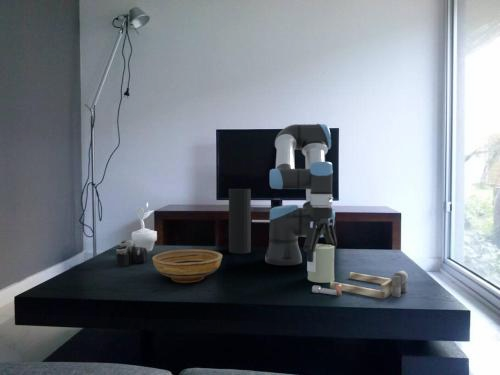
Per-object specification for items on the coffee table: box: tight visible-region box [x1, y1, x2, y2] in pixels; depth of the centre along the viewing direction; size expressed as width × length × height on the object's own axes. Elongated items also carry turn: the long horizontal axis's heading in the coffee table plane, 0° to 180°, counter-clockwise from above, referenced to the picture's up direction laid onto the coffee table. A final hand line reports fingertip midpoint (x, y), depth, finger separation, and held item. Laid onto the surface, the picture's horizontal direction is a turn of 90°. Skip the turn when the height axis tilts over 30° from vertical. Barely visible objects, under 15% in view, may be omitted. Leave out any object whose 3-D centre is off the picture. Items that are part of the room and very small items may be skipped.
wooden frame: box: [329, 270, 409, 300], centre depth 118 cm, size 21×16×7 cm
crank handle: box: [311, 284, 343, 297], centre depth 113 cm, size 9×2×3 cm, turn 62°
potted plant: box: [131, 201, 158, 252], centre depth 175 cm, size 13×12×25 cm
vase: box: [228, 188, 252, 255], centre depth 174 cm, size 10×10×30 cm
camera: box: [115, 239, 148, 269], centre depth 151 cm, size 16×10×10 cm, turn 3°
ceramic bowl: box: [151, 249, 223, 284], centre depth 130 cm, size 30×24×8 cm
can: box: [307, 243, 335, 284], centre depth 129 cm, size 9×9×12 cm
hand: (321, 267), depth 129 cm, fingers open, 13 cm apart
